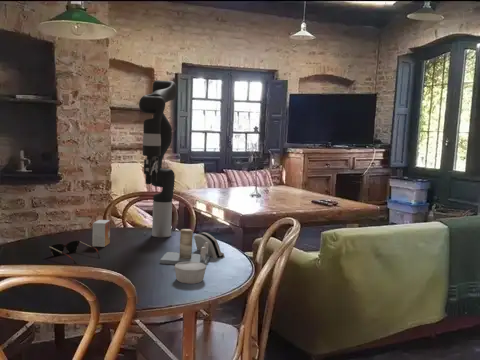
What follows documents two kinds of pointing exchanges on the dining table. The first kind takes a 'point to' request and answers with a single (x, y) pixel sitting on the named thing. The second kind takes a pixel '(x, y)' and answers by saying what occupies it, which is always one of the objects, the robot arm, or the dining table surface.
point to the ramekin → (190, 272)
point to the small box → (101, 233)
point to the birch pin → (186, 243)
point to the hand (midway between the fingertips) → (151, 182)
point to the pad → (175, 258)
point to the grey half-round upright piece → (213, 244)
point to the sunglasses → (67, 248)
